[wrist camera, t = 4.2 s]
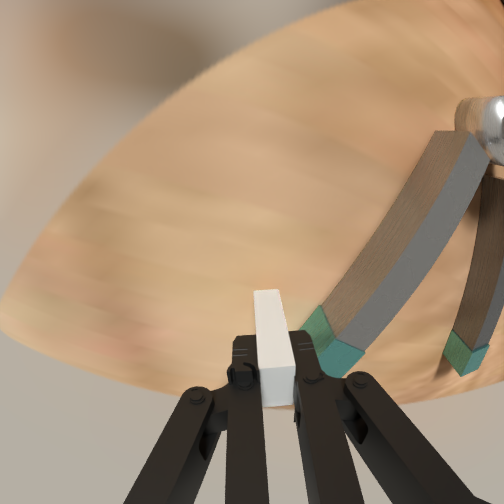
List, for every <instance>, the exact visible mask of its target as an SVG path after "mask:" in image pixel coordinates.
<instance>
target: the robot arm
mask: <svg viewBox="0 0 504 504" xmlns="http://www.w3.org/2000/svg"><path fill="white" fill-rule="evenodd" d="M502 1H503V3H504V0H502ZM254 307H255V323H256V335H243V336H237V337H236V338H235V340H234V341H233V351H232V364H231V365H230V366H229V367H228V370H227V376H228V382H229V383H228V384H227V385H225V386H224V387H222V388H219V389H216V390H213V391H210V390H208V389H207V388H204V387H198V386H196V387H192V388H189V389H188V390H186V391H185V392H184V393H183V394H182V396H181V398H180V400H179V402H178V404H177V406H176V407H175V409H174V411H173V413H172V415H171V417H170V418H169V421H168V422H167V424H166V426H165V428H164V430H163V432H162V433H161V435H160V437H159V439H158V441H157V443H156V444H155V446H154V448H153V450H152V452H151V454H150V456H149V457H148V459H147V461H146V463H145V465H144V467H143V469H142V470H141V472H140V474H139V476H138V478H137V479H136V481H135V483H134V485H133V487H132V489H131V491H130V492H129V494H128V496H127V498H126V499H125V501H124V503H123V504H194V501H195V499H196V496H197V494H198V491H199V489H200V486H201V484H202V481H203V479H204V476H205V474H206V471H207V468H208V466H209V463H210V461H211V458H212V455H213V453H214V450H215V448H216V445H217V442H218V439H219V437H220V434H221V431H225V430H227V451H226V452H227V453H226V485H225V504H269V493H268V479H267V467H266V453H265V439H264V427H263V426H264V425H263V411H262V407H274V406H284V405H293V403H294V405H295V413H294V422H296V426H297V432H298V438H299V444H300V450H301V457H302V463H303V470H304V476H305V482H306V489H307V496H308V502H309V504H364V500H363V496H362V492H361V488H360V485H359V481H358V478H357V474H356V470H355V466H354V463H353V459H352V456H351V452H350V449H349V446H348V442H347V439H346V435H345V433H346V434H347V436H348V437H349V439H350V440H351V442H352V443H353V445H354V447H355V448H356V450H357V451H358V453H359V454H360V456H361V457H362V459H363V460H364V462H365V463H366V465H367V466H368V468H369V469H370V471H371V472H372V474H373V475H374V476H375V478H376V480H377V481H378V483H379V484H380V486H381V487H382V489H383V490H384V492H385V493H386V495H387V496H388V498H389V499H390V501H391V502H392V503H393V504H491V503H488V502H486V501H484V500H482V499H479V498H477V497H475V496H474V495H473V494H472V493H471V492H470V490H469V489H468V488H467V487H466V486H465V484H464V483H463V482H462V481H461V479H460V478H459V477H458V476H457V475H456V473H455V472H454V471H453V470H452V469H451V467H450V466H449V465H448V464H447V463H446V462H445V460H444V459H443V458H442V457H441V456H440V454H439V453H438V452H437V451H436V450H435V449H434V447H433V446H432V445H431V444H430V443H429V441H428V440H427V439H426V438H425V437H424V436H423V434H422V433H421V432H420V431H419V430H418V429H417V427H416V426H415V425H414V424H413V423H412V422H411V420H410V419H409V418H408V417H407V416H406V415H405V413H404V412H403V411H402V410H401V409H400V408H399V407H398V405H397V404H396V403H395V402H394V401H393V399H392V398H391V397H390V396H389V395H388V394H387V393H386V391H385V390H384V389H383V388H382V387H381V386H380V384H379V383H378V382H377V381H376V380H375V379H374V377H373V376H371V375H370V374H369V373H366V372H362V371H357V372H353V373H351V374H349V375H348V376H347V378H346V379H345V378H335V377H331V376H328V375H327V374H326V373H325V372H324V371H323V370H322V369H321V367H320V363H319V360H318V357H317V354H316V351H315V349H314V345H313V342H312V339H311V335H310V334H309V333H307V332H306V331H305V330H298V331H288V329H287V324H286V320H285V315H284V311H283V307H282V302H281V298H280V294H279V289H272V290H258V291H254ZM344 431H345V432H344Z"/></svg>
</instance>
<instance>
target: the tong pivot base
mask: <svg viewBox="0 0 504 504" xmlns="http://www.w3.org/2000/svg"><path fill="white" fill-rule="evenodd" d="M455 129H456V131H470V132H471V133H472V134H473V136H474V137H475V138H476V140H477V141H478V143H479V144H480V145H481V147H482V148H483V150H484V151H485V153H486V154H487V156H488V157H489V159H490V161H489V163H490V164H495V165H500V166H504V96H490V97H476V98H466V99H463V100H462V101H461V102H460V103H459V105H458V107H457V109H456V113H455ZM503 306H504V178H500V177H495V176H489V175H483V181H482V196H481V207H480V216H479V223H478V230H477V237H476V243H475V248H474V254H473V258H472V263H471V268H470V272H469V276H468V280H467V284H466V288H465V292H464V295H463V299H462V302H461V305H460V309H459V312H458V315H457V318H456V321H455V324H454V327H453V330H452V331H451V333H450V336H449V339H448V341H447V344H446V347H445V349H444V352H443V354H444V356H445V357H446V358H447V360H448V361H449V362H450V363H451V365H452V366H453V367H454V369H455V370H456V371H457V373H458V374H459V375H460V377H462V376H464V375H466V374H468V373H471V372H473V371H475V370H477V369H478V368H479V366H480V364H481V362H482V360H483V358H484V356H485V354H486V352H487V350H488V348H489V346H490V345H489V344H488V343H489V341H490V339H491V336H492V334H493V332H494V329H495V327H496V324H497V322H498V319H499V317H500V314H501V311H502V308H503Z"/></svg>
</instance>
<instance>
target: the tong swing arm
mask: <svg viewBox="0 0 504 504" xmlns="http://www.w3.org/2000/svg"><path fill="white" fill-rule="evenodd" d="M489 161H490V159H489V157H488V156H487V154H486V153H485V151H484V150H483V148H482V147H481V145H480V144H479V143H478V141H477V140H476V138H475V137H474V136H473V134H472V133H471V132H470V131H435V132H434V134H433V136H432V138H431V140H430V142H429V144H428V146H427V147H426V149H425V151H424V153H423V155H422V157H421V158H420V160H419V162H418V164H417V165H416V167H415V169H414V171H413V172H412V174H411V176H410V178H409V179H408V181H407V183H406V184H405V186H404V188H403V189H402V191H401V193H400V194H399V196H398V197H397V199H396V201H395V202H394V204H393V205H392V207H391V209H390V210H389V212H388V213H387V215H386V216H385V218H384V219H383V221H382V223H381V224H380V226H379V227H378V229H377V230H376V232H375V233H374V234H373V236H372V237H371V239H370V240H369V242H368V243H367V245H366V246H365V248H364V249H363V250H362V252H361V253H360V255H359V256H358V258H357V259H356V260H355V262H354V263H353V264H352V266H351V267H350V269H349V270H348V271H347V273H346V274H345V275H344V277H343V278H342V279H341V281H340V282H339V283H338V285H337V286H336V287H335V289H334V290H333V291H332V293H331V294H330V295H329V296H328V298H327V299H326V300H325V302H324V303H323V304H322V305H319V306H318V307H317V309H316V310H315V311H314V312H313V314H312V315H311V316H310V317H309V318H308V320H307V321H306V322H305V323H304V325H303V326H302V327H301V328H300V329H299V330H305V331H306V332H307V333H309V334H310V335H311V339H312V342H313V345H314V349H315V351H316V354H317V357H318V360H319V363H320V367H321V369H322V370H323V371H324V372H325V373H326V374H327V375H328V376H331V377H335V378H342V377H343V376H344V375H345V374H346V373H347V372H348V371H349V370H350V369H351V368H352V367H353V366H354V365H355V364H356V363H357V362H358V360H359V359H360V358H361V357H362V356H363V355H364V354H365V350H366V349H367V348H368V347H369V346H370V345H371V343H372V342H373V341H374V340H375V339H376V338H377V337H378V336H379V334H380V333H381V332H382V331H383V330H384V329H385V327H386V326H387V325H388V324H389V323H390V322H391V320H392V319H393V318H394V317H395V315H396V314H397V313H398V312H399V311H400V309H401V308H402V307H403V305H404V304H405V303H406V302H407V300H408V299H409V298H410V296H411V295H412V294H413V292H414V291H415V290H416V288H417V287H418V286H419V284H420V283H421V282H422V280H423V279H424V277H425V276H426V274H427V273H428V272H429V270H430V269H431V267H432V266H433V264H434V263H435V261H436V260H437V258H438V257H439V255H440V254H441V252H442V250H443V249H444V247H445V246H446V244H447V243H448V241H449V239H450V238H451V236H452V234H453V233H454V231H455V229H456V227H457V226H458V224H459V222H460V220H461V219H462V217H463V215H464V213H465V211H466V209H467V208H468V206H469V204H470V202H471V200H472V198H473V196H474V194H475V192H476V190H477V188H478V186H479V184H480V182H481V179H482V177H483V175H484V173H485V171H486V168H487V166H488V164H489Z"/></svg>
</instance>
